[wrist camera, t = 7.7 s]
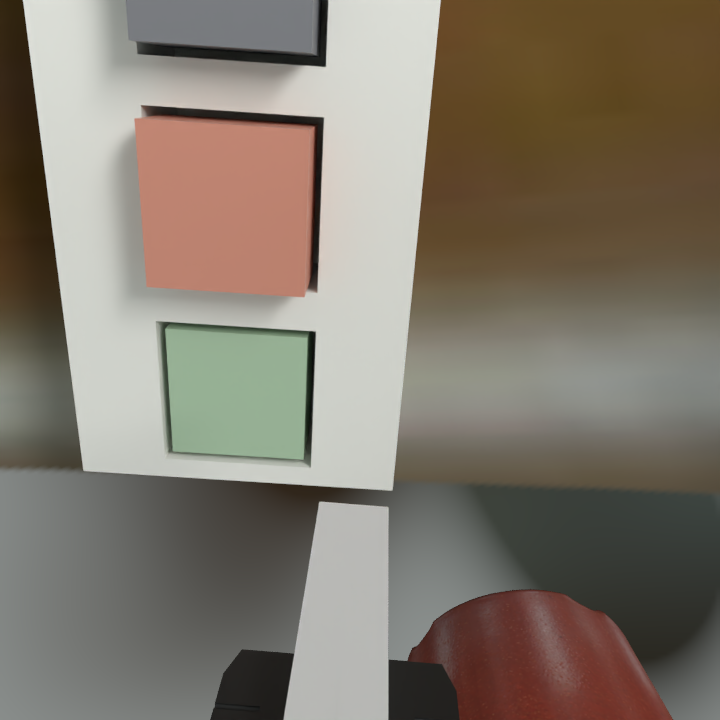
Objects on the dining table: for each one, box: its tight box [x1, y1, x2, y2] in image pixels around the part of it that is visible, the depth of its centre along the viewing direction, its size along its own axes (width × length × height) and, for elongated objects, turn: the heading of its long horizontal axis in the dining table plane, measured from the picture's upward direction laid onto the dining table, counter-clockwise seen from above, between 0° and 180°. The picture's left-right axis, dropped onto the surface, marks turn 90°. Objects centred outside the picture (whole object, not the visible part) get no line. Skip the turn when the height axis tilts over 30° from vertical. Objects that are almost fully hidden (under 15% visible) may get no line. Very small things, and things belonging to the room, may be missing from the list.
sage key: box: [165, 322, 314, 460], centre depth 25 cm, size 5×5×3 cm
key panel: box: [23, 0, 441, 491], centre depth 23 cm, size 21×12×4 cm, turn 176°
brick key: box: [134, 114, 318, 297], centre depth 21 cm, size 5×5×3 cm
